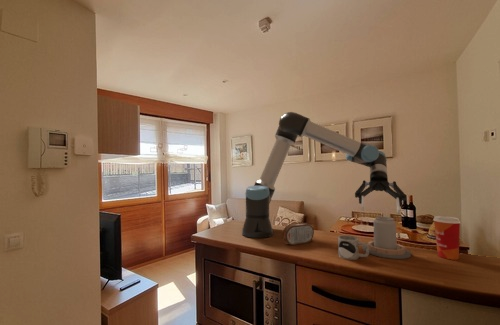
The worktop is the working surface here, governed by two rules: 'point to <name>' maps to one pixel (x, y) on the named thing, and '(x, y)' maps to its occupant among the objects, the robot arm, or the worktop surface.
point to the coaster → (407, 255)
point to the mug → (350, 248)
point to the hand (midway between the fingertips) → (380, 210)
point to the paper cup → (447, 236)
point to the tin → (298, 233)
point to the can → (385, 233)
